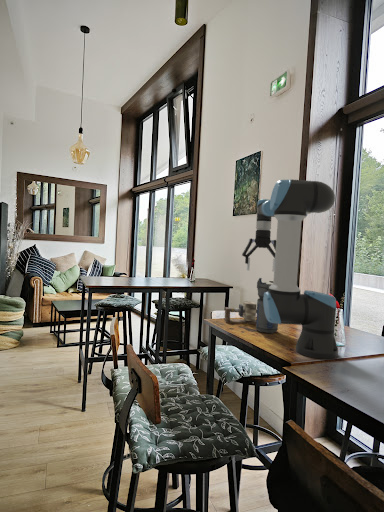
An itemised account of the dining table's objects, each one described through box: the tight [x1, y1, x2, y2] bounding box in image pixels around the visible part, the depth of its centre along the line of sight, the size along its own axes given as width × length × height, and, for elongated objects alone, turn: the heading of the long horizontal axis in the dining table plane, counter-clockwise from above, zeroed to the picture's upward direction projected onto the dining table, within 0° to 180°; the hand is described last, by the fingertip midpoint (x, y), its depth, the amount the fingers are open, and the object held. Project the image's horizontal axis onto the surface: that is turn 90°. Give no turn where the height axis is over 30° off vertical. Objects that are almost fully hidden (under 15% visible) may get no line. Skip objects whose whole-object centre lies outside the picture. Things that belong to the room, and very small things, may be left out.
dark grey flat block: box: [238, 303, 243, 318], centre depth 180 cm, size 1×6×6 cm, turn 3°
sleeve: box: [242, 300, 257, 321], centre depth 180 cm, size 5×9×9 cm, turn 3°
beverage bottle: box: [255, 277, 279, 334], centre depth 162 cm, size 10×13×25 cm
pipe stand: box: [223, 306, 257, 325], centre depth 180 cm, size 22×7×7 cm, turn 93°
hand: (260, 271), depth 178 cm, fingers open, 13 cm apart
